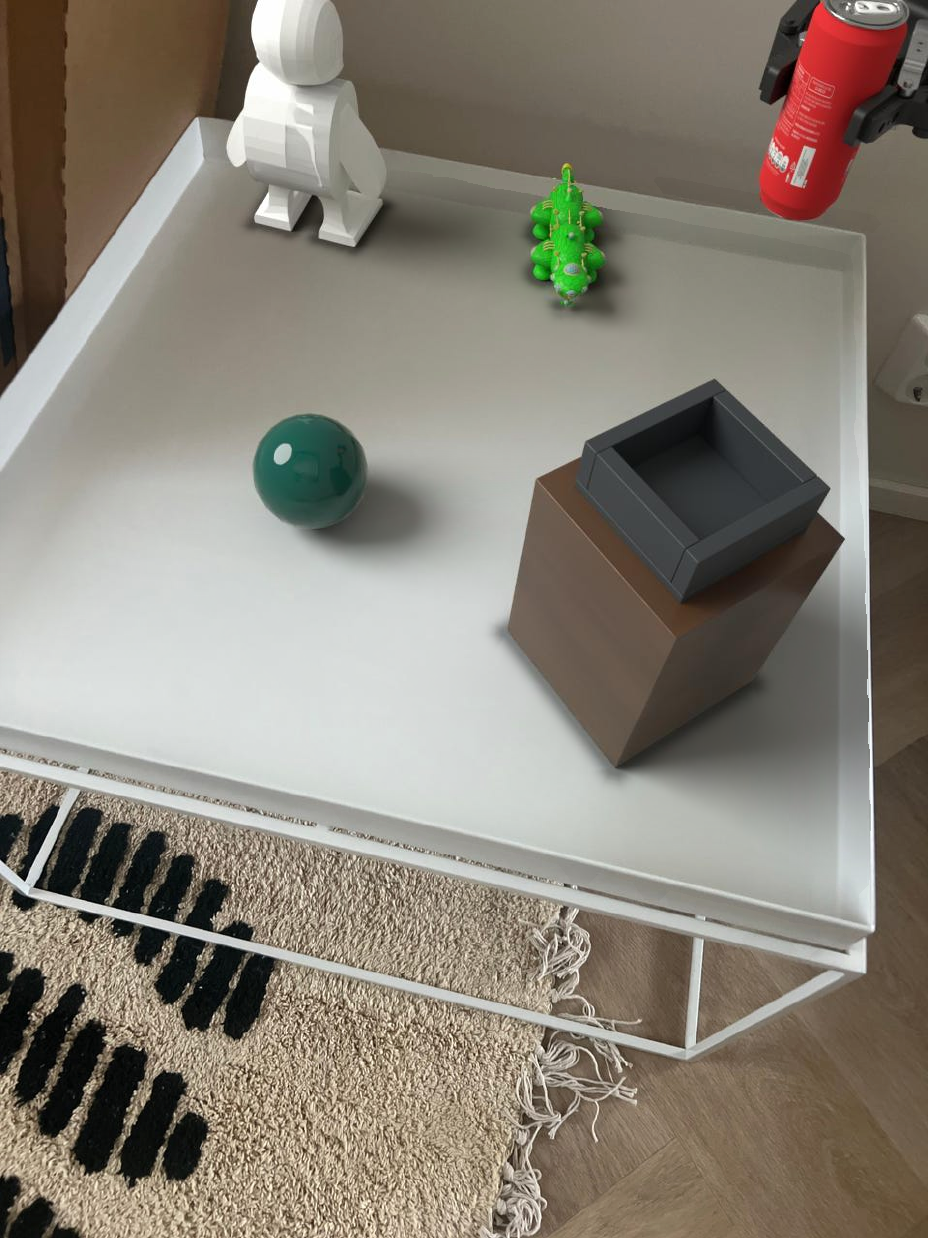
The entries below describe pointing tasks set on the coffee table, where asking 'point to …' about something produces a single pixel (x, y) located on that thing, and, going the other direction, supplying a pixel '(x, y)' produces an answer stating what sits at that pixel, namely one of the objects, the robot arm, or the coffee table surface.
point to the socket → (698, 488)
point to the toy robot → (306, 124)
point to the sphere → (310, 471)
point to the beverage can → (828, 103)
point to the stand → (645, 620)
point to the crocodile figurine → (566, 239)
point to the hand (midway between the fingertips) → (810, 107)
